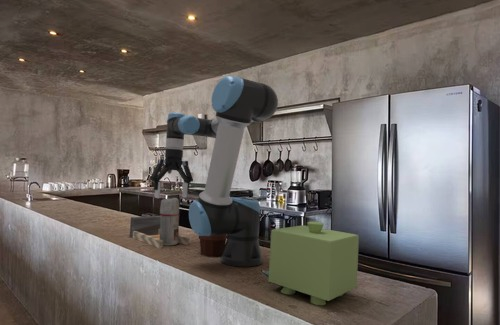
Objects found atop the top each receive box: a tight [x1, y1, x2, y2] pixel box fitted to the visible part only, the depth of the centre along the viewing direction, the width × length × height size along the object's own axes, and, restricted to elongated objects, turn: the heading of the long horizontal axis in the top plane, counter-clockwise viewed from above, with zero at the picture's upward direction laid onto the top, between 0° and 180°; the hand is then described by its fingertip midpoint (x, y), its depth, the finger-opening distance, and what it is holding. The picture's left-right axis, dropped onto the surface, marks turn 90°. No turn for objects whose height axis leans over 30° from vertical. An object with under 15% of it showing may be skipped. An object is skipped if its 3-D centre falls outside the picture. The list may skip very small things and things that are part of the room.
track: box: [129, 215, 190, 249], centre depth 154 cm, size 27×14×9 cm, turn 44°
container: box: [268, 220, 360, 306], centre depth 97 cm, size 19×16×20 cm
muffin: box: [198, 234, 227, 257], centre depth 135 cm, size 12×11×10 cm
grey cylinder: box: [159, 197, 180, 246], centre depth 148 cm, size 8×8×20 cm
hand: (171, 197), depth 149 cm, fingers open, 13 cm apart
